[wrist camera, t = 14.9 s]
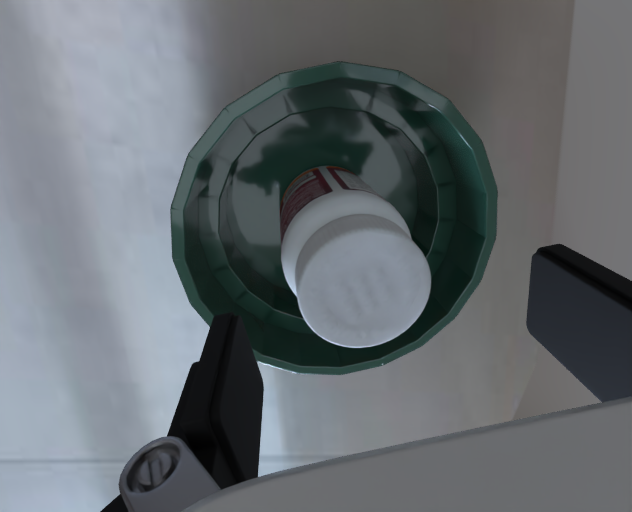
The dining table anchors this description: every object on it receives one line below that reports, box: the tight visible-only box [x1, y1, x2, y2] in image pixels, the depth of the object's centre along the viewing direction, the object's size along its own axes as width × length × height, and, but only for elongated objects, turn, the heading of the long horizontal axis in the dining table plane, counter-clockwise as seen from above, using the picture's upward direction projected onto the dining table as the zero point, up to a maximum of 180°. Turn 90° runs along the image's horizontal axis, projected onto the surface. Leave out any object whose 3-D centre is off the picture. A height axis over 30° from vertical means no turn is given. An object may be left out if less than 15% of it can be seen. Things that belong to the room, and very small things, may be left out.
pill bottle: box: [280, 166, 431, 348], centre depth 18 cm, size 6×6×11 cm
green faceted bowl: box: [170, 61, 498, 375], centre depth 21 cm, size 16×16×7 cm
